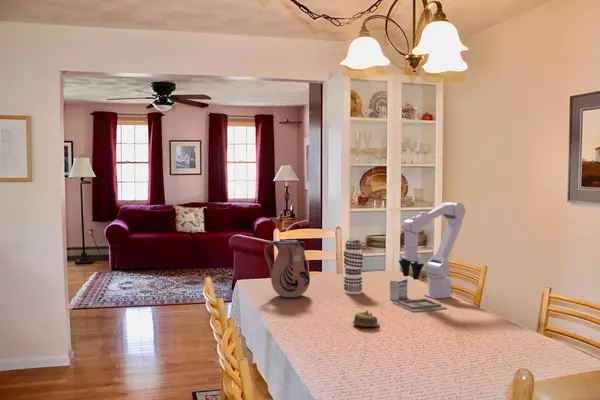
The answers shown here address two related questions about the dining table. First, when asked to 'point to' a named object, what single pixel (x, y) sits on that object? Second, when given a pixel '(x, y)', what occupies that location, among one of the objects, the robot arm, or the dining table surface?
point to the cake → (365, 319)
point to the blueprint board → (419, 305)
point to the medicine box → (398, 289)
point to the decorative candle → (353, 266)
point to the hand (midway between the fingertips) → (410, 277)
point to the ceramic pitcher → (288, 268)
